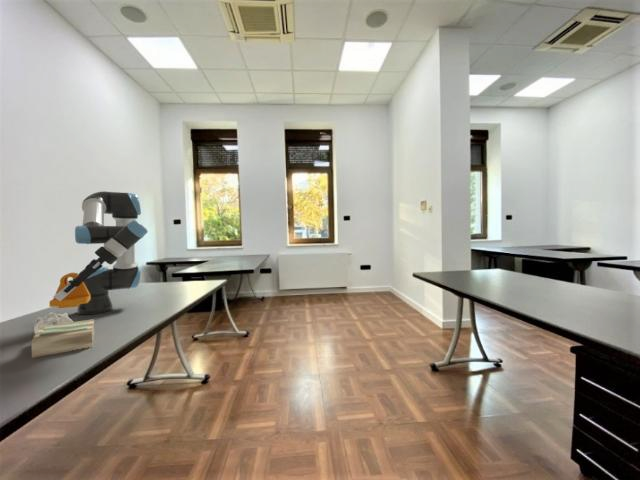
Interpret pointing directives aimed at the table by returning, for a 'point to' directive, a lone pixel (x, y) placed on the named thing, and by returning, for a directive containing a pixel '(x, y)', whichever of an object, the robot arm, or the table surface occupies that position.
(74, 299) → the bracket
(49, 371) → the table surface
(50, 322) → the white bone skull
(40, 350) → the riser stand
